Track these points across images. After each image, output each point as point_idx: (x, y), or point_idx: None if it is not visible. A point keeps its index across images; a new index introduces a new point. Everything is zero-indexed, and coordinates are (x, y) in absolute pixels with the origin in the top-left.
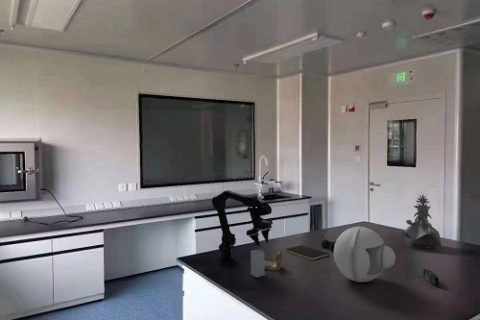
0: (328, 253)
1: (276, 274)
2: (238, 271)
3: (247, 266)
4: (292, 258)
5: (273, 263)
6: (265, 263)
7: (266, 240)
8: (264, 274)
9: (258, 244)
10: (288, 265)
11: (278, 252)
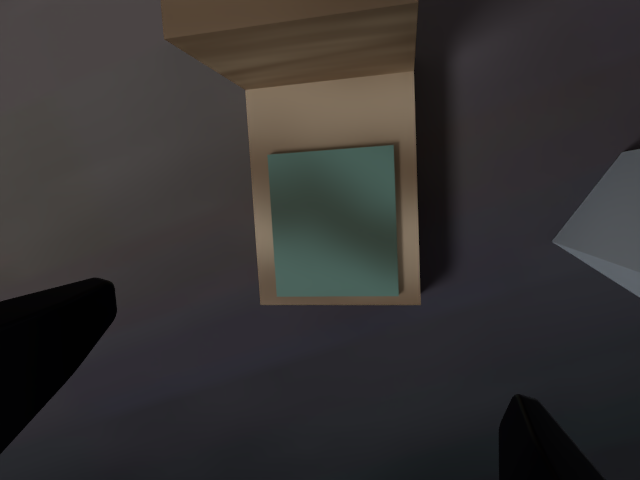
0: None
1: (540, 32)
2: (595, 466)
3: (404, 418)
4: (5, 60)
5: (306, 150)
6: (357, 234)
7: (83, 331)
8: (628, 152)
9: (556, 444)
10: None
11: (272, 19)
